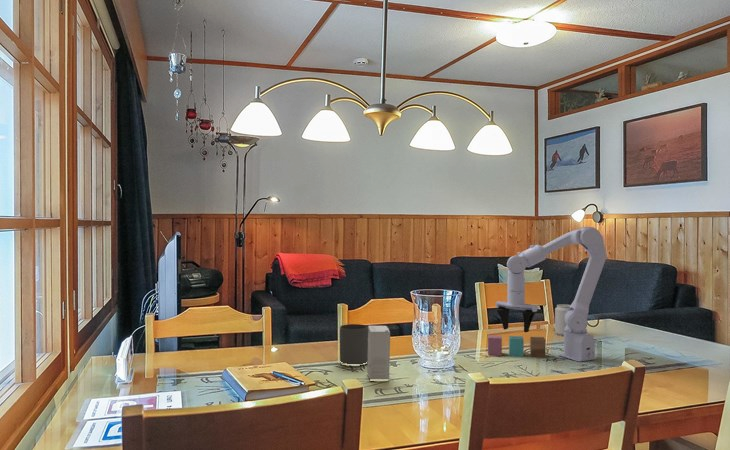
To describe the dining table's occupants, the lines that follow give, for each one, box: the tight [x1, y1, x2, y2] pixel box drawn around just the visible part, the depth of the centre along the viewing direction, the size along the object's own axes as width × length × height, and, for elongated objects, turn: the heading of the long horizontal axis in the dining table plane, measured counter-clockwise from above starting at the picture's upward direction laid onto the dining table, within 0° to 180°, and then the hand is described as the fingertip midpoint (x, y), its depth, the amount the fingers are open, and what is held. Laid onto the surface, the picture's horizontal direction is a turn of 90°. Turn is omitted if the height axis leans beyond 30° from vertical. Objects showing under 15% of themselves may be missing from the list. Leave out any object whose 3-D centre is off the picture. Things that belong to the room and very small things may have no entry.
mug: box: [339, 323, 368, 364], centre depth 183 cm, size 14×9×12 cm
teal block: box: [508, 335, 525, 358], centre depth 192 cm, size 4×4×6 cm
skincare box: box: [366, 325, 391, 380], centre depth 164 cm, size 8×6×15 cm
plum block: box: [487, 334, 503, 357], centre depth 194 cm, size 4×4×6 cm
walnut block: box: [529, 336, 547, 359], centre depth 191 cm, size 4×4×6 cm
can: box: [554, 303, 571, 337], centre depth 226 cm, size 8×8×12 cm
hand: (515, 330), depth 192 cm, fingers open, 7 cm apart
